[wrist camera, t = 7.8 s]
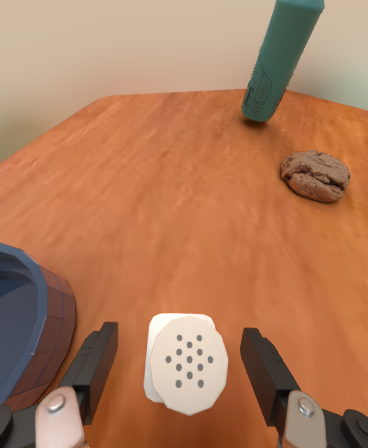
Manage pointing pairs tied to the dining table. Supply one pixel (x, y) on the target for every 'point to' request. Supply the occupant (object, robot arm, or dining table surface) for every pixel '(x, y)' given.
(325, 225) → the dining table surface
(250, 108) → the beverage bottle
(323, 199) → the cookie
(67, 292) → the bowl
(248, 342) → the robot arm
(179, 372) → the salt shaker
